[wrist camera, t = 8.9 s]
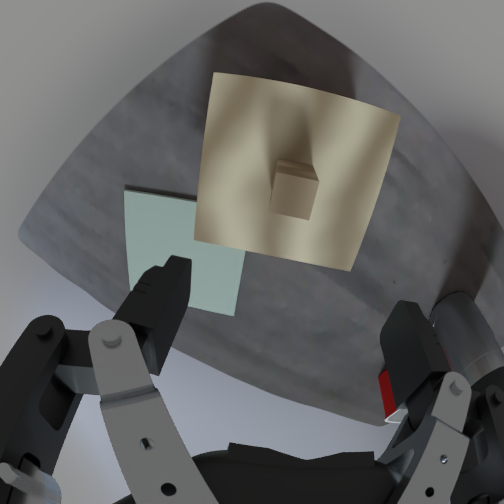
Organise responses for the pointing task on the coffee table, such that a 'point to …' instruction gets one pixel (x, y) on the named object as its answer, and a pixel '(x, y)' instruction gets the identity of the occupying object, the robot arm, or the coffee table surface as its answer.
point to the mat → (180, 249)
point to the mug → (390, 400)
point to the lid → (290, 170)
